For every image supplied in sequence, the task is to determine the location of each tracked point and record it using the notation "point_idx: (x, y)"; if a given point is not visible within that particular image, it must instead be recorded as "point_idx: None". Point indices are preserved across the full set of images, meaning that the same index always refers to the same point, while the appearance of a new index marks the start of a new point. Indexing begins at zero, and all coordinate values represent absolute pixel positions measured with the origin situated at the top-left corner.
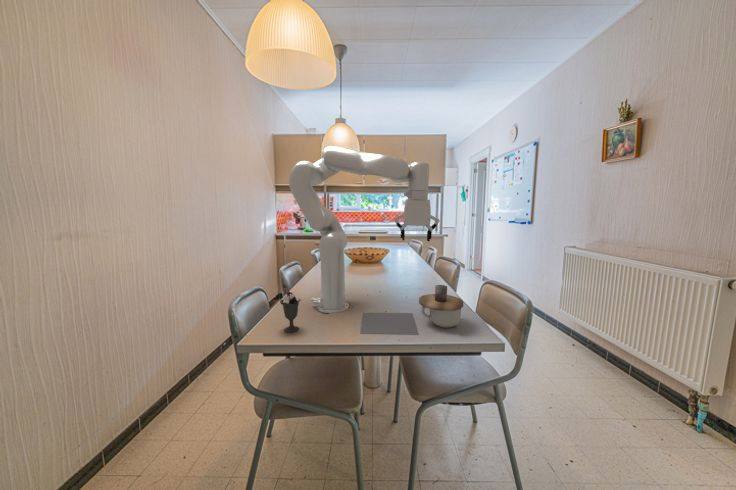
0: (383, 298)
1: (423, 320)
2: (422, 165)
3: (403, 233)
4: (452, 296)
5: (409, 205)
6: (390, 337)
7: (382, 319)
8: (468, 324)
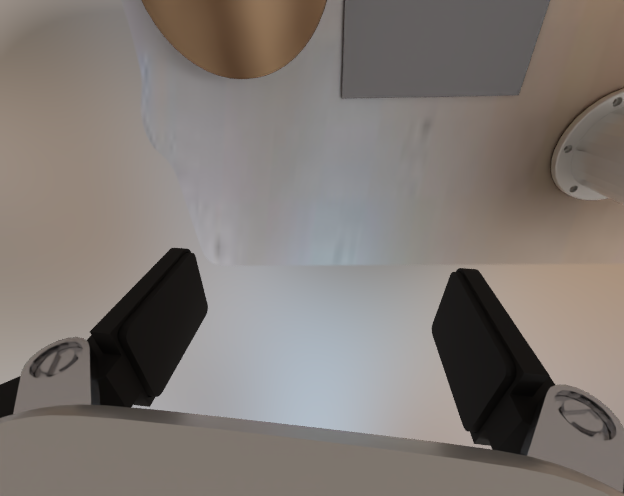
0: (410, 243)
1: None
2: None
3: (507, 328)
4: (175, 38)
5: None
6: None
7: (464, 16)
8: None
